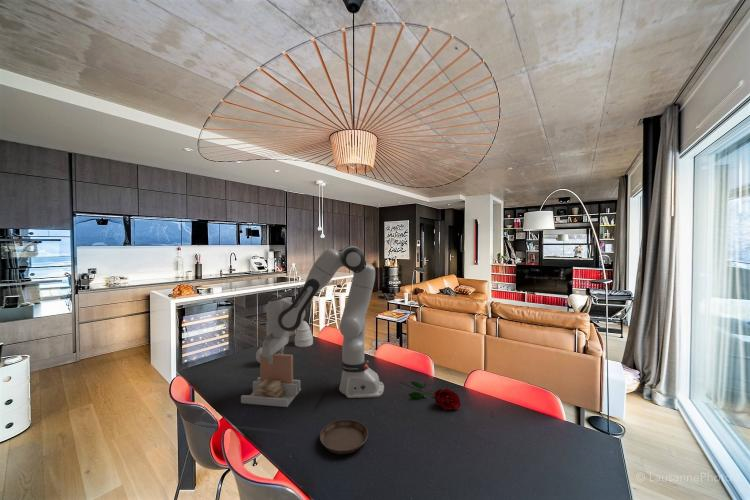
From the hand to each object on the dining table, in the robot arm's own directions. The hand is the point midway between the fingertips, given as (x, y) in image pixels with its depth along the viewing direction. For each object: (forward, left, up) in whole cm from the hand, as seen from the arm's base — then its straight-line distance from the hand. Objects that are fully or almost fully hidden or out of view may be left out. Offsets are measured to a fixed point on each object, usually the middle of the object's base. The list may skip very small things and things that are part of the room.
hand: (276, 359), depth 139 cm
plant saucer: (-41, +28, -17) cm, 53 cm away
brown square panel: (0, 0, -16) cm, 16 cm away
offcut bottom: (0, +7, -16) cm, 17 cm away
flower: (-73, -4, -17) cm, 75 cm away
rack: (0, +4, -17) cm, 17 cm away
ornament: (+24, -32, -17) cm, 43 cm away
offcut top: (0, +7, -11) cm, 13 cm away
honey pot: (+14, -68, -17) cm, 72 cm away
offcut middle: (0, +7, -13) cm, 15 cm away
